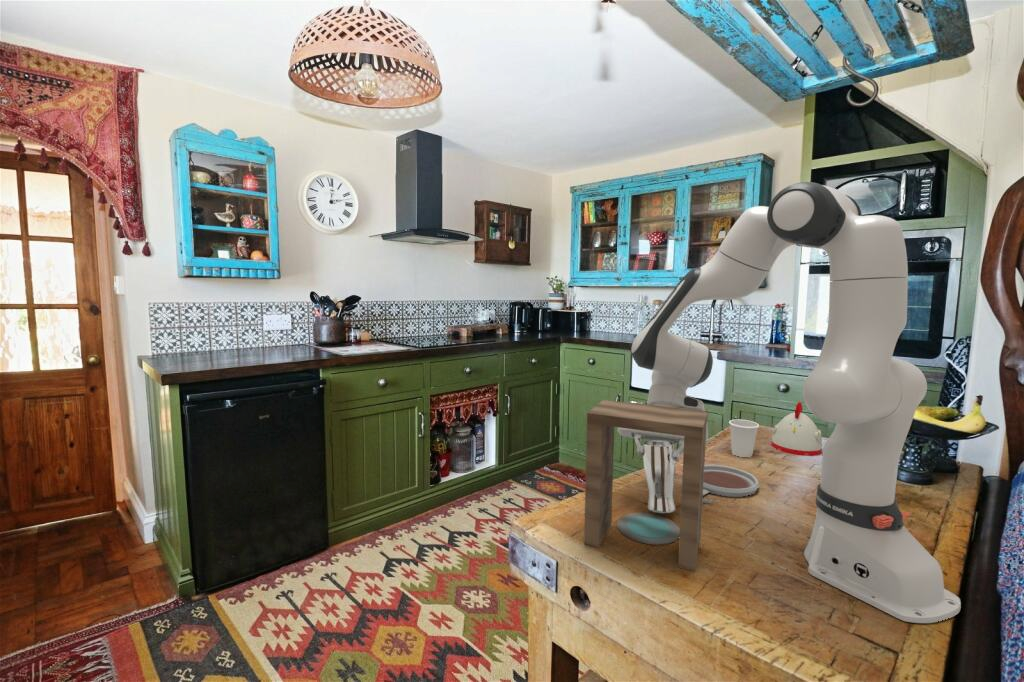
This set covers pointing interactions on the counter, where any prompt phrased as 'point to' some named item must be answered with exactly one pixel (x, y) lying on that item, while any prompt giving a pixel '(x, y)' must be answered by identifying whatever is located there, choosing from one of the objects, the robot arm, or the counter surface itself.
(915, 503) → the counter surface
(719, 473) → the frying pan
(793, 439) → the kitchen timer
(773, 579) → the counter surface
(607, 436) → the shelf bridge
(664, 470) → the beer glass
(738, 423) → the dixie cup
